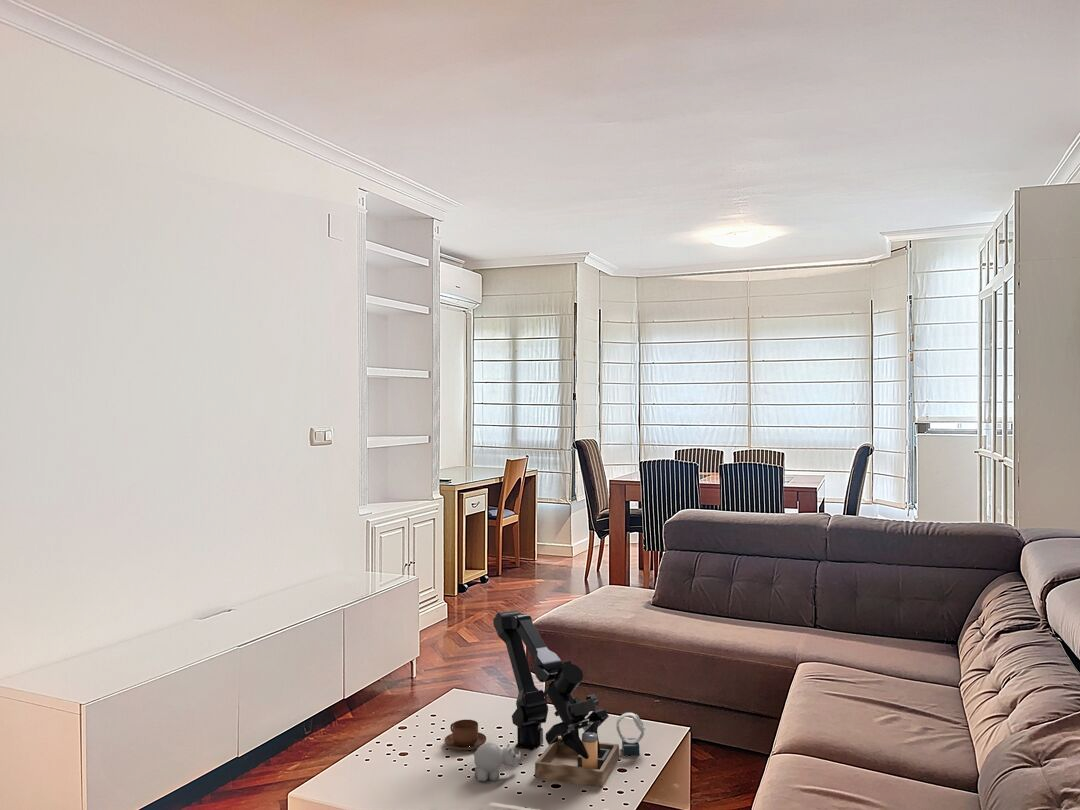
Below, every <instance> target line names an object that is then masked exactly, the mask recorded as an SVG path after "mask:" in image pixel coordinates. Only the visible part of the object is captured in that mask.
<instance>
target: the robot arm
mask: <svg viewBox="0 0 1080 810" xmlns="http://www.w3.org/2000/svg"><path fill="white" fill-rule="evenodd" d="M492 623H493V628H494V629H495V630H496V633H497V636H498V638H500V640H502V641H503V642H504V643H505V645H506V646H505V647H506V650H507V654H508V657H509V661H510V664H511V668H512V672H513V676H514V679H515V683H516V687H517V689H518V695H517V698H516V701H515V702H516V703H515V707H516V709H515V710H514V712H513V713H512V715H511V720H512V724H513V725H514V726H515V727H516V726H517V731H516V732H517V743H516V744H515V748H519V749H524V750H525V749H526V750H534V749H538V747H540V746H541V745H542V744H543V743H544V728H543V727H542V724H546V723H547V718H548V713H549V706H548V701H547V699H546V697H548V698H549V699H550V701H551V704H552V705H553V707H554V709H555V710H556V711H555V712H554V715H555V717H559V718H560V720H561V722H558V723H556V724H553V725H552V726H551V727H550V728H549V730H547V732H546V733H545V740H546V742H547V744H548V745H547V746H549V745H551V744H553V743H556V742H557V741H558V737H561V738H562V740H561V742H560V743H561V744H565V745H566V746H568V747H570V748H571V749H573V750H574V751H576V752H577V753H578V754H580V755H581V756H582V757H584V758H585V759H588V758H589V756H588V753H587V751H586V749H585V747H584V745H583V743H582V741H581V740H582V738H580V733H579V730H581V729H583V731H584V732H583V733H585V732H594V733H596V734H597V753H598V754H600V753H601V750H600V745H599V742H600V741H599V736H598V735H599V734H598V728H599V727H600V726H601V725H602V724H603V723H604V722H605V721H606V720H607V719H608V718H609V717H610V715H609V714H608V712H607V710H606V709H604V708H598V709H597V707H598V706H599V705H600V702H599V699H598V697H596V695H595V694H594V693H593V694H590V695H587V696H585V700H583V701H581V699H580V698H578V697H576V698H575V697H574V696H573V694H572V693H573V692H574V691H575V690H576V689H577V687H578V686H579V685H580V683H581V682H582V680H583V678H584V673H583V671H582V669H581V668H580V667H578V666H577V665H575V664H572V661H571V660H565V661H562V660H561V658H560V657H559V656H558V654H557V653H555V652H554V651H552V650H550V649H549V648H548V646H547V645H546V644H545V642H544V640H543V638H542V637H541V635H540V633H539V632H538V630H537V628H536V627H535V624H534V623H533V619H532V617H531V614H529V613H523V612H522V613H521V612H520V611H518V610H510V611H509V610H508V611H502V612H501V611H500V612H497V613H496V614H495V616H494V618H493V621H492ZM524 646H525V647H526V649H527V651H528V653H529V655H530V656H531V658H532V660H533V663H532V669H533V672H534V675H535V677H536V678H537V680H538V682H539V683H547V682H550V683H549V684H547V685H545V686H544V690H543V689H539V688H537V687H536V685H535V682H534V677H533V676H532V672H531V671H532V670H531V668H530V664H529V660H528V656H527V653H526V650H525V647H524Z"/></svg>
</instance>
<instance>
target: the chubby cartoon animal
mask: <svg viewBox="0 0 1080 810" xmlns="http://www.w3.org/2000/svg"><path fill="white" fill-rule="evenodd" d="M475 750H476V751H475V752H474V753H473V757H474V758H473V761H474V764H475V769H474V775H475V777H476V779H477V781H478V782H486V781H487V780H488V779H489V780H490V781H493V782H495V781H498V780H499V778H500V771H499V770H500V768H501V767H502V765H503V766H510V765H511V766H512V767H517V766H519V764H520V762H521V760H520V759H521V757H522V753H521V751H518V753H516V752H515V751H514V749H513V748H511V747H510V743H508V744H507V746H506V747H504V748H503V749H501V748H500V747H499V745H497V744H495V743H492V742H485V743H484V744H482V745H481V746H480V747H478V748H476V749H475Z"/></svg>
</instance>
